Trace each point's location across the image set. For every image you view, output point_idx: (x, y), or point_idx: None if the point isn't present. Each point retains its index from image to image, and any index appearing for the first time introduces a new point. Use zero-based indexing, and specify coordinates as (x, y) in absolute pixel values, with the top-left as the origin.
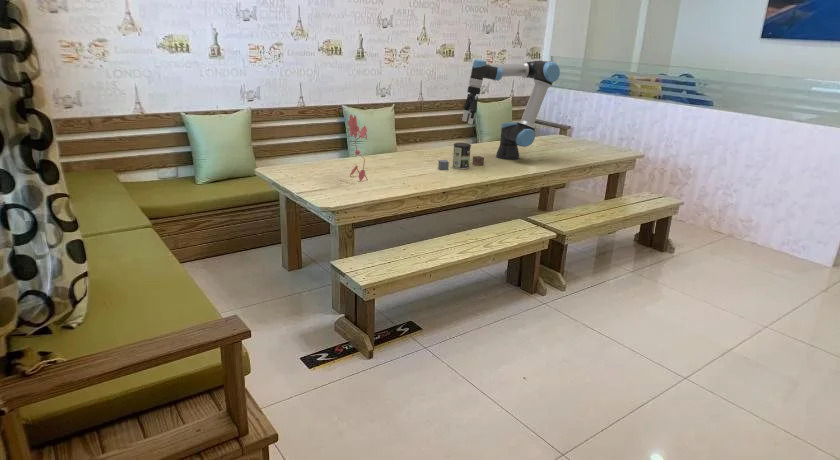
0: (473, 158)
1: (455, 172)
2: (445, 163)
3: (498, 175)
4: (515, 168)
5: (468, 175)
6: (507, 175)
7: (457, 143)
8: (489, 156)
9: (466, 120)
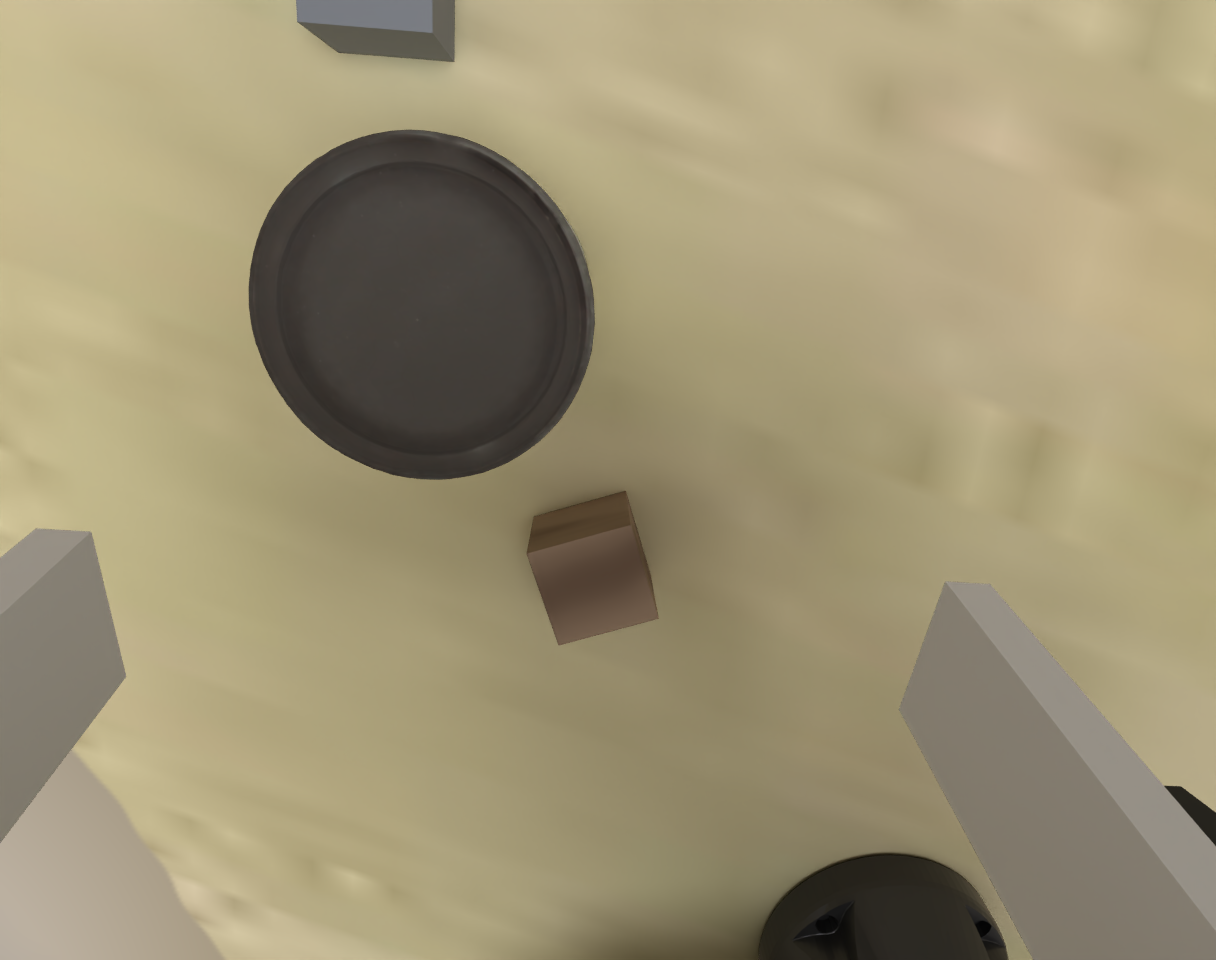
0: (617, 519)
1: (206, 111)
2: None
3: None
4: (400, 851)
5: (60, 237)
6: None
7: (551, 258)
8: None
9: (913, 733)
